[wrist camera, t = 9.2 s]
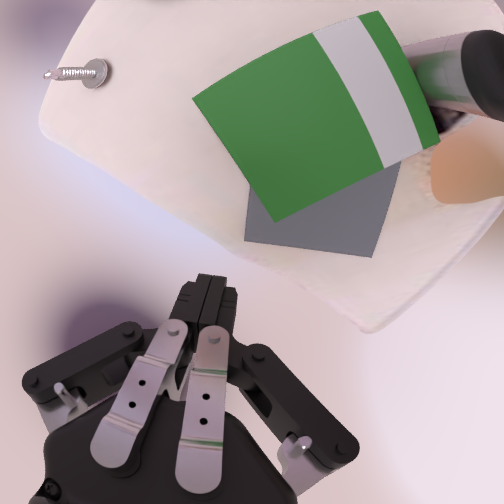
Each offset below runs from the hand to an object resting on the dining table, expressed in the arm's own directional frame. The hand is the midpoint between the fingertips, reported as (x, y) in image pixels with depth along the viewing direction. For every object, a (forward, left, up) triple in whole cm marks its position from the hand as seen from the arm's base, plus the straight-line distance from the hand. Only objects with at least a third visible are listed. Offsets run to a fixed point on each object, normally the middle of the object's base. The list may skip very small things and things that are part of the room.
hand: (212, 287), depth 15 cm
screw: (+24, -14, -27) cm, 39 cm away
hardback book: (+1, -2, -23) cm, 23 cm away
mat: (-11, 0, -27) cm, 29 cm away
